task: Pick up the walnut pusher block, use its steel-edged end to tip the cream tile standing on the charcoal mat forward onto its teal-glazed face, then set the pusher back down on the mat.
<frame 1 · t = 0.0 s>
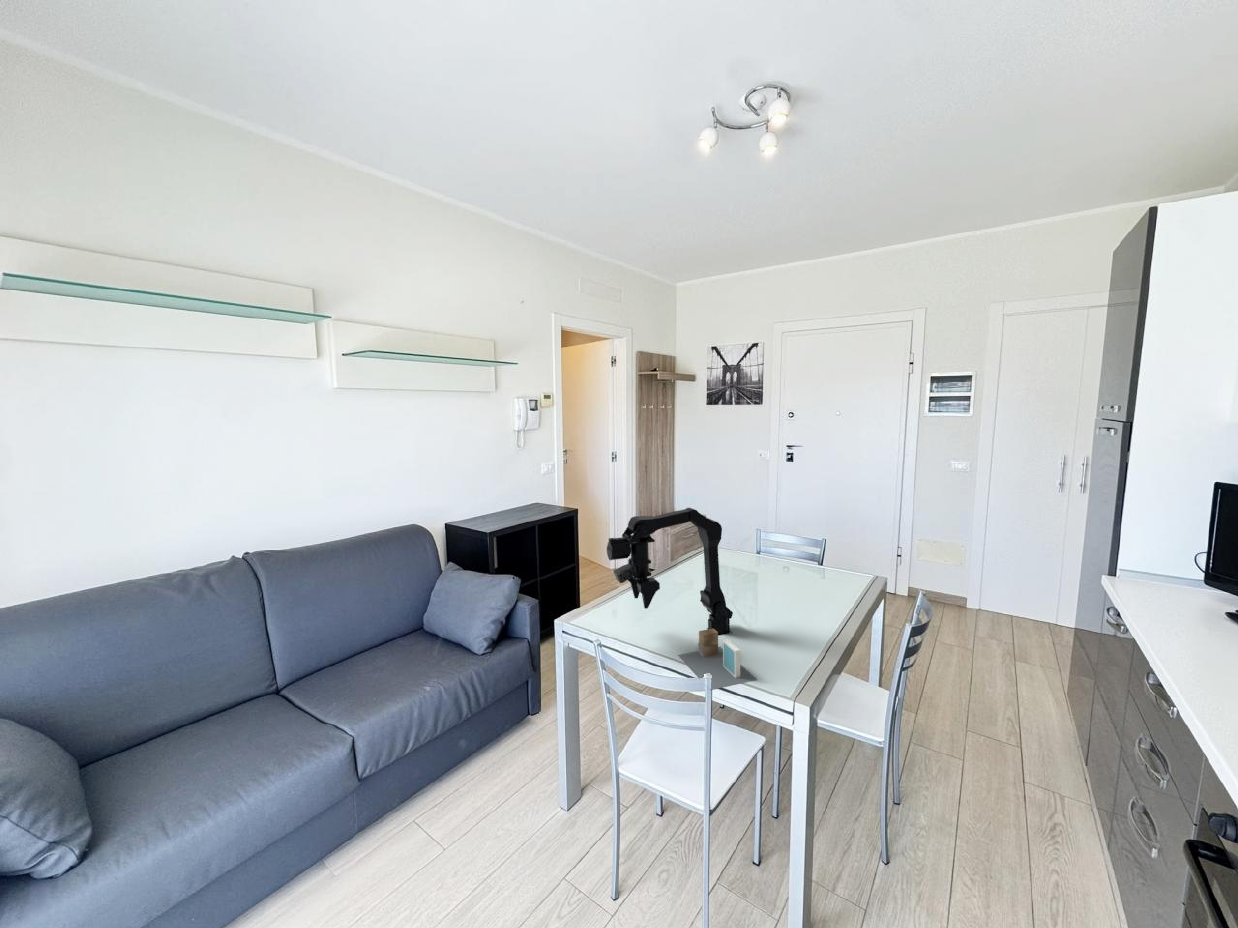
hand: (641, 603, 161), 14 cm above the table, fingers open, 9 cm apart
pusher: (708, 653, 156), resting on mat
tile: (731, 671, 145), resting on mat
mat: (715, 667, 147), on the table
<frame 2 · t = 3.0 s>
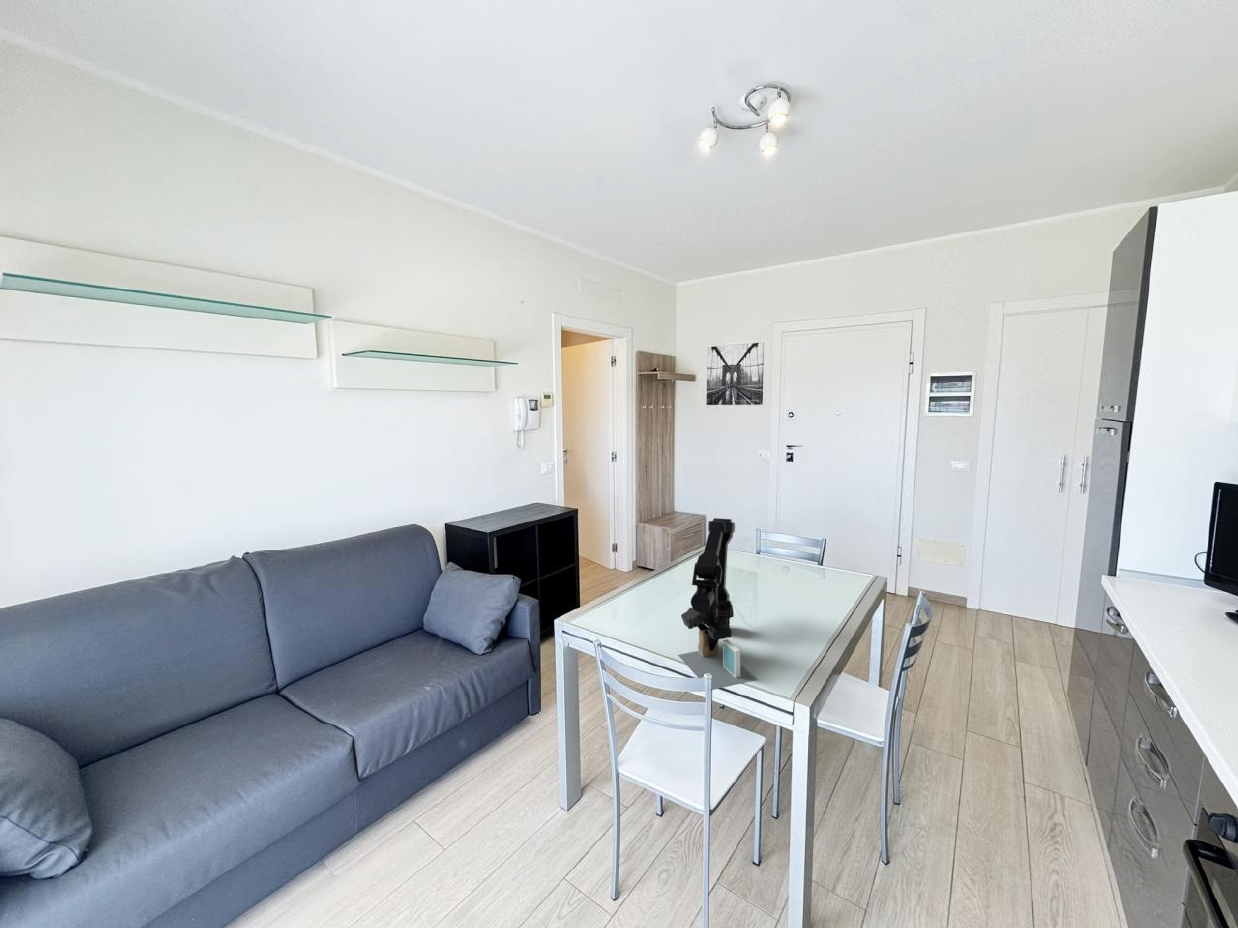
hand: (708, 648, 155), 2 cm above the table, fingers closed on pusher, 3 cm apart
pusher: (708, 653, 156), resting on mat, touching gripper
everything else where it was.
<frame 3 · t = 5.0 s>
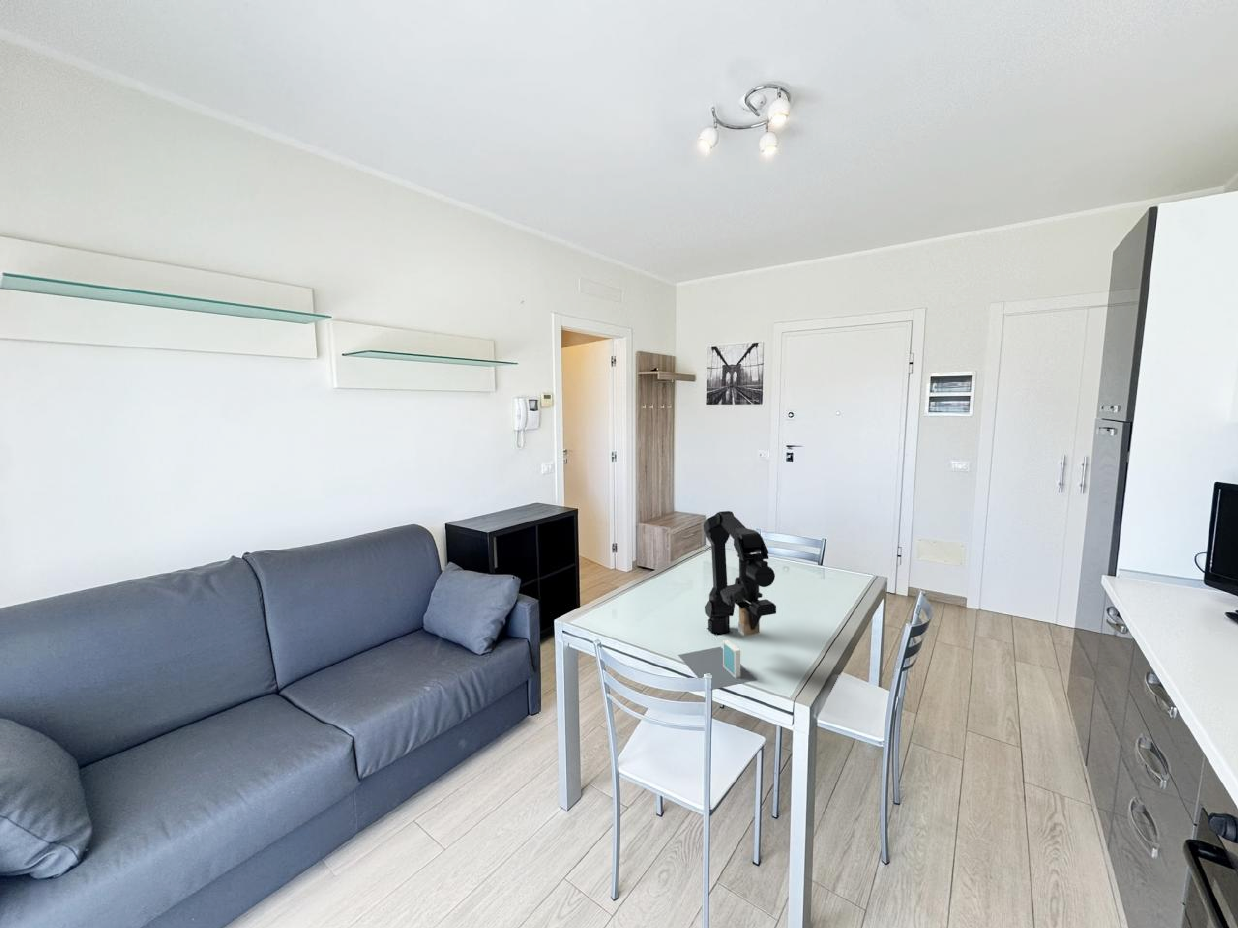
hand: (749, 627, 146), 12 cm above the table, fingers closed on pusher, 3 cm apart
pusher: (749, 632, 146), point 11 cm above the table, touching gripper
everything else where it was.
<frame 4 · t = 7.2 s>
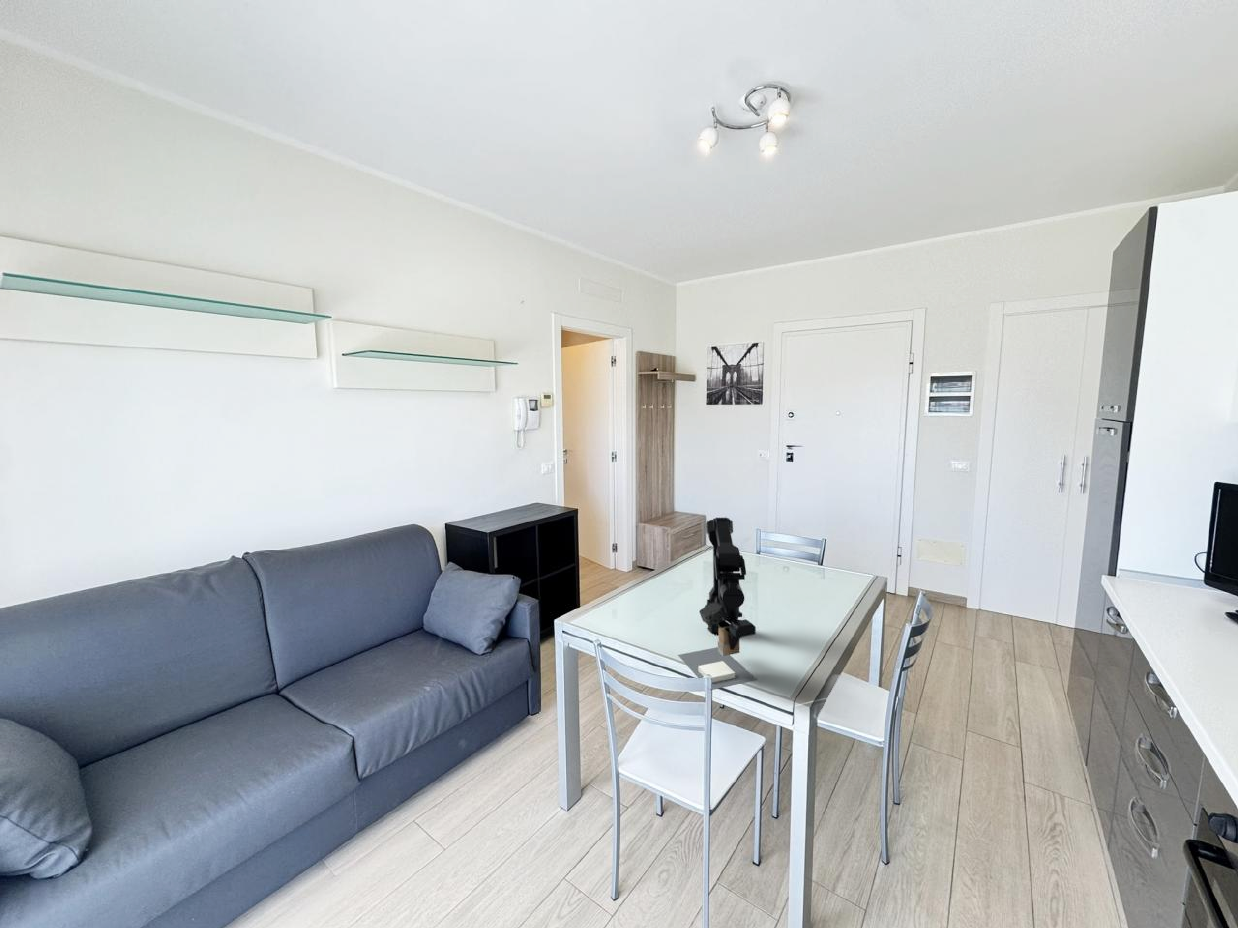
hand: (729, 646, 144), 8 cm above the table, fingers closed on pusher, 3 cm apart
pusher: (729, 651, 144), point 6 cm above the table, touching gripper
tile: (728, 669, 144), point 1 cm above the table, tilted 90°, touching mat
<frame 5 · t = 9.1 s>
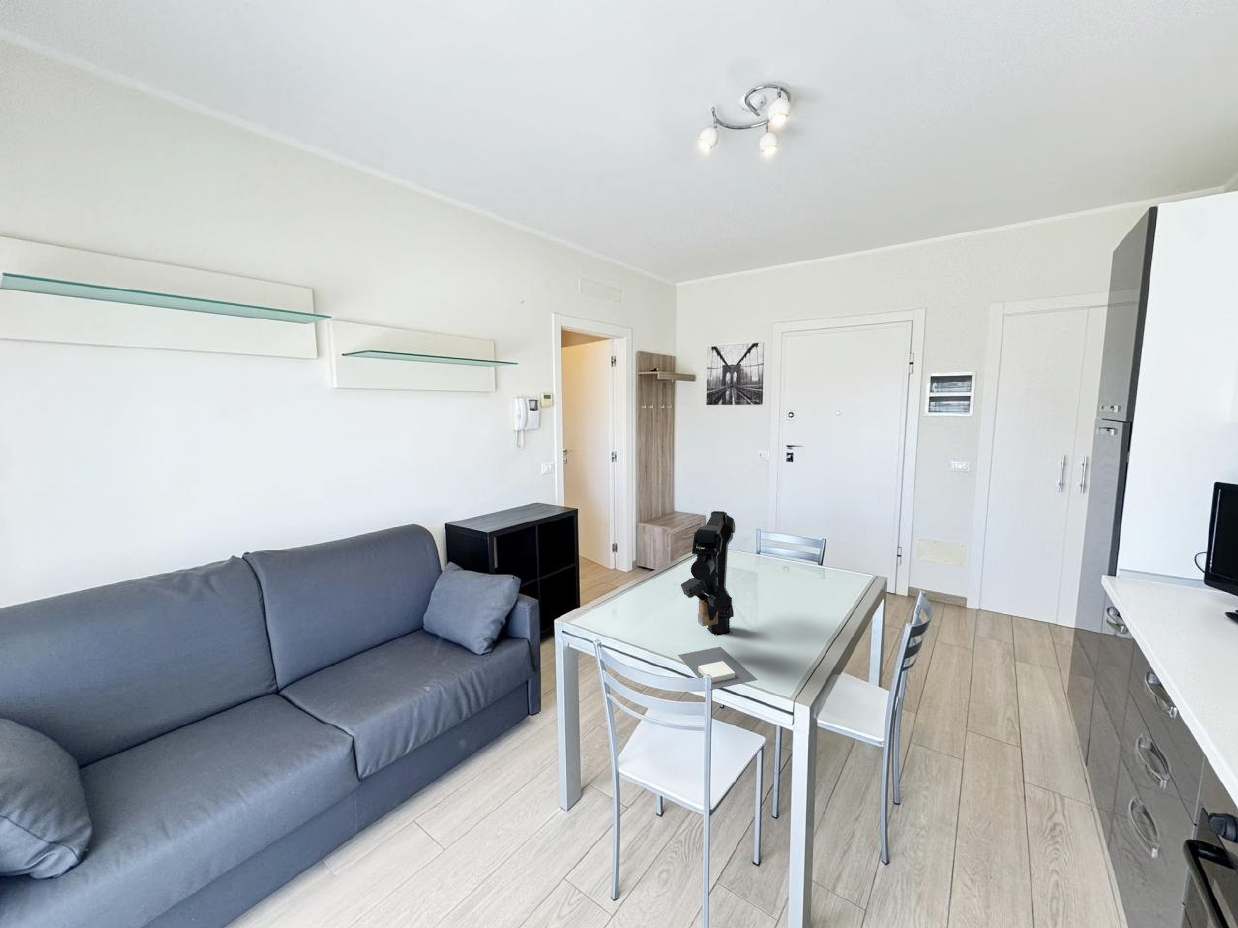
hand: (708, 618, 154), 12 cm above the table, fingers closed on pusher, 3 cm apart
pusher: (708, 622, 154), point 10 cm above the table, touching gripper
everything else where it was.
when the fingers open (3 cm above the table, at t = 11.0 s): pusher drops 1 cm, resting on mat.
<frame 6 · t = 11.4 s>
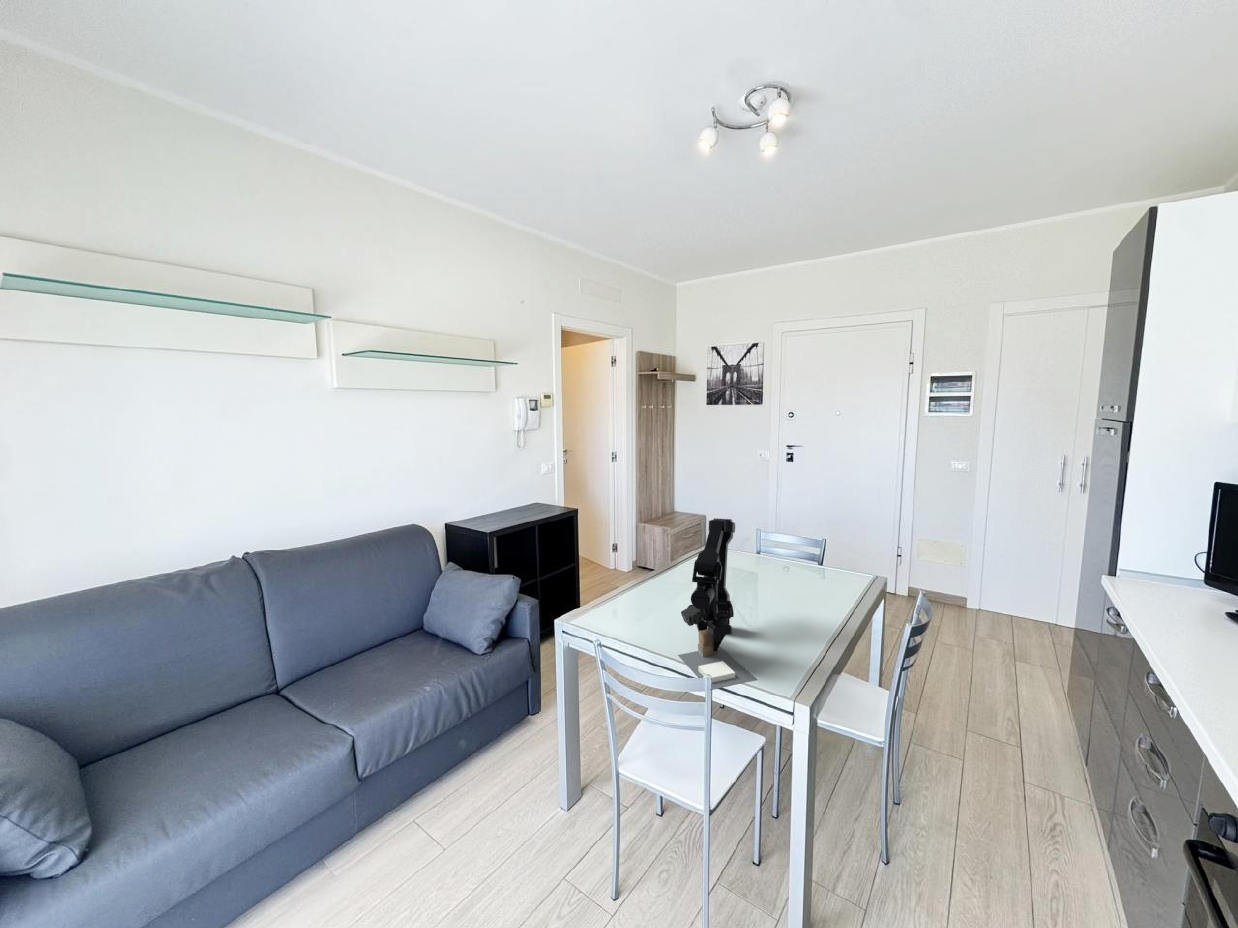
hand: (708, 645, 155), 3 cm above the table, fingers open, 8 cm apart
pusher: (708, 653, 156), resting on mat
everything else where it was.
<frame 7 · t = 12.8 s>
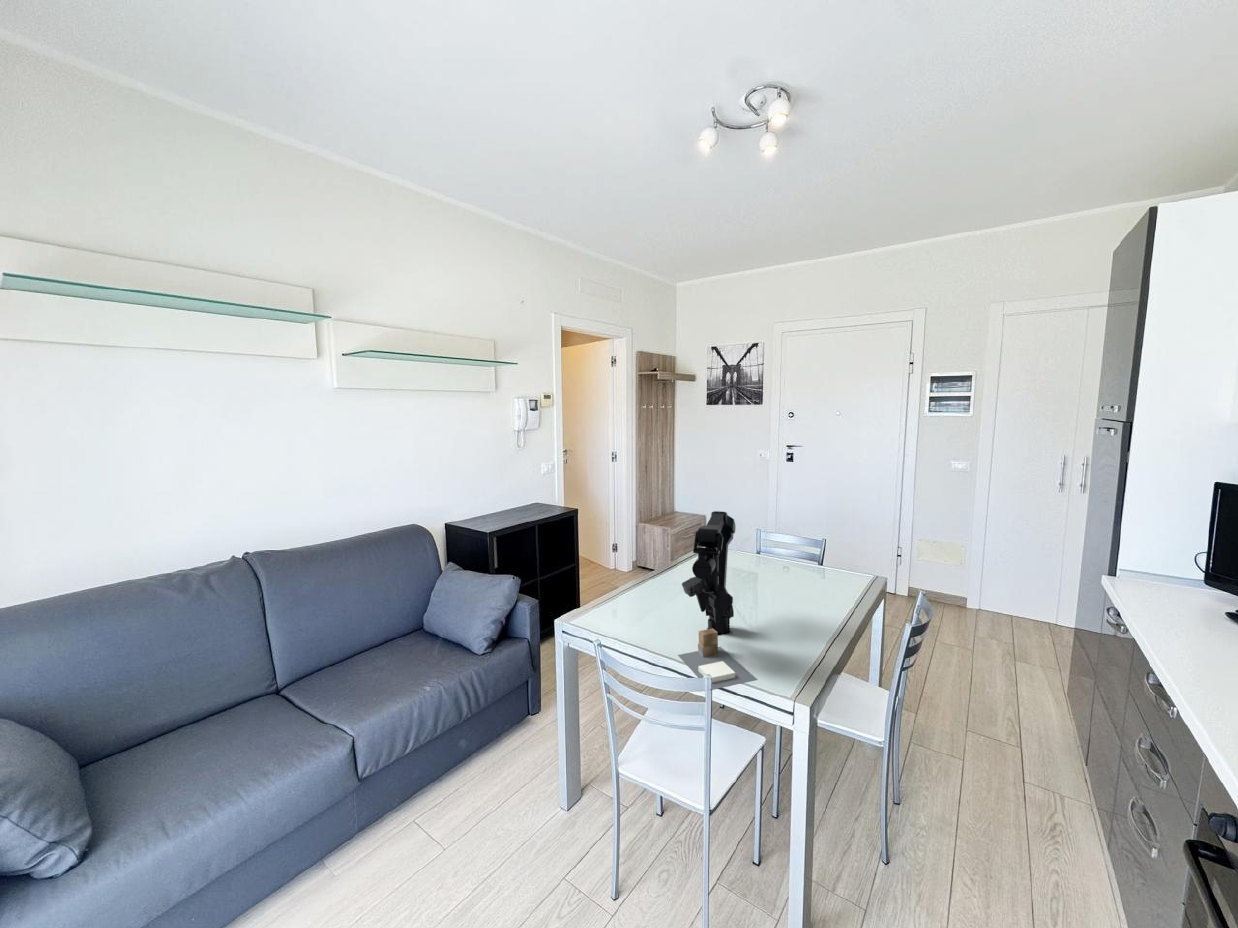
hand: (709, 617, 155), 12 cm above the table, fingers open, 9 cm apart
nothing on the table moved.
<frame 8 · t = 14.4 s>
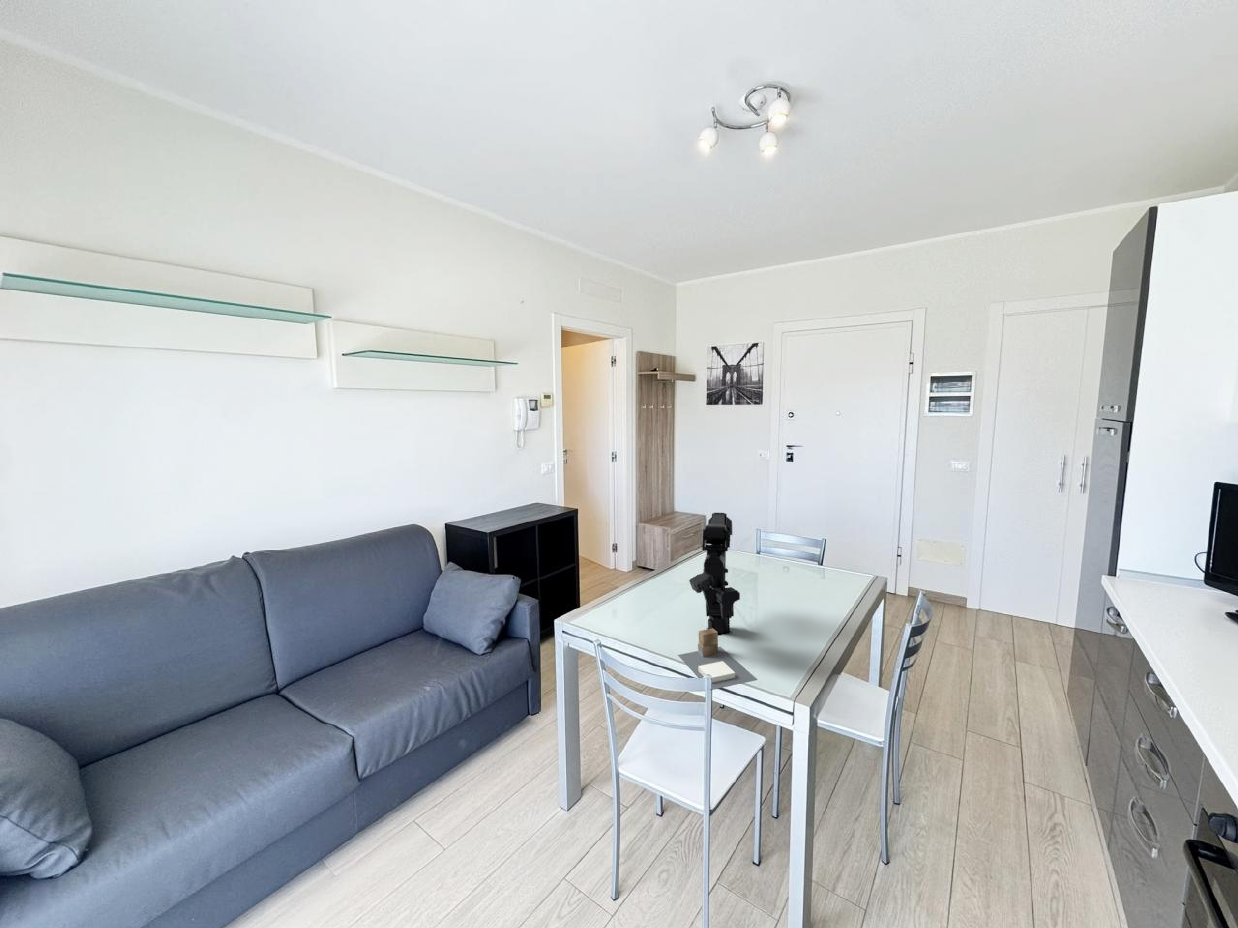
hand: (716, 613, 157), 12 cm above the table, fingers open, 9 cm apart
nothing on the table moved.
at the end: tile tilted 90°; tile inside the target area (1.8 cm from its centre), point 1.2 cm above the table; pusher inside the target area (0.1 cm from its centre), resting on mat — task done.
